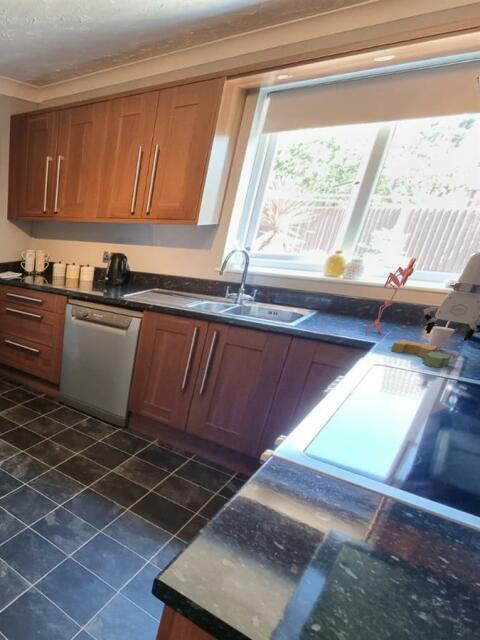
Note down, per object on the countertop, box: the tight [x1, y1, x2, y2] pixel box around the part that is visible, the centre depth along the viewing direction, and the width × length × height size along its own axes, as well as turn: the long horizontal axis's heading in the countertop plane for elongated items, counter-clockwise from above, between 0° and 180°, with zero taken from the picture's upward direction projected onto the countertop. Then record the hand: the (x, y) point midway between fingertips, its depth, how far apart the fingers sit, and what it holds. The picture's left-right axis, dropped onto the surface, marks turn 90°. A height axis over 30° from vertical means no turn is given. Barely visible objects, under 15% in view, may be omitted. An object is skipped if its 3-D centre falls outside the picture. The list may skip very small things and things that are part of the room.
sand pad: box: [390, 338, 438, 359], centre depth 170 cm, size 11×11×4 cm
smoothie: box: [428, 321, 456, 351], centre depth 172 cm, size 6×6×14 cm
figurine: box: [362, 257, 417, 340], centre depth 192 cm, size 15×26×35 cm, turn 136°
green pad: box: [421, 351, 453, 369], centre depth 156 cm, size 6×10×4 cm, turn 125°
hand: (446, 336), depth 154 cm, fingers open, 9 cm apart
